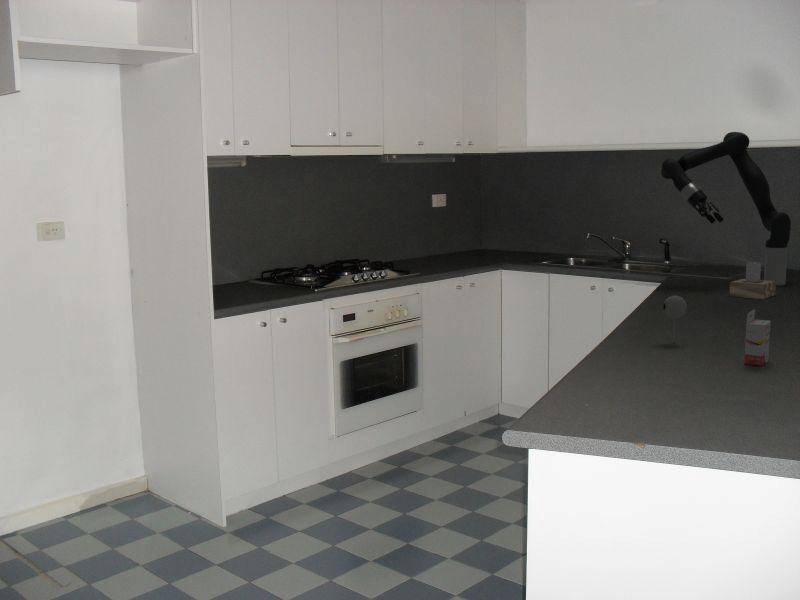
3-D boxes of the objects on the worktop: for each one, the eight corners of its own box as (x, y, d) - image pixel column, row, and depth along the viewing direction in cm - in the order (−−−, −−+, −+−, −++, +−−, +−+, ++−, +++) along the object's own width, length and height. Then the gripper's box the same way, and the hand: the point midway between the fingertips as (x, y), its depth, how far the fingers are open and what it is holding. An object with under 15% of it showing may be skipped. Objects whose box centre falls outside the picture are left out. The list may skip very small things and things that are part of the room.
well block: (742, 292, 386) (742, 278, 385) (775, 295, 377) (775, 281, 376) (729, 296, 376) (730, 282, 375) (762, 299, 366) (763, 284, 366)
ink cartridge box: (762, 366, 247) (764, 314, 244) (743, 364, 249) (746, 313, 247) (769, 360, 254) (771, 310, 251) (751, 358, 256) (753, 308, 254)
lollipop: (658, 340, 285) (660, 294, 283) (680, 339, 285) (681, 293, 283) (667, 344, 278) (668, 297, 276) (689, 344, 278) (690, 296, 276)
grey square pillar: (749, 294, 379) (750, 262, 377) (759, 295, 376) (760, 262, 374) (745, 295, 376) (746, 263, 374) (755, 296, 373) (756, 263, 371)
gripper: (692, 189, 385) (717, 216, 379) (706, 188, 395) (730, 214, 389) (680, 201, 389) (705, 228, 383) (694, 200, 400) (718, 226, 394)
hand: (718, 221), depth 386 cm, fingers open, 8 cm apart
